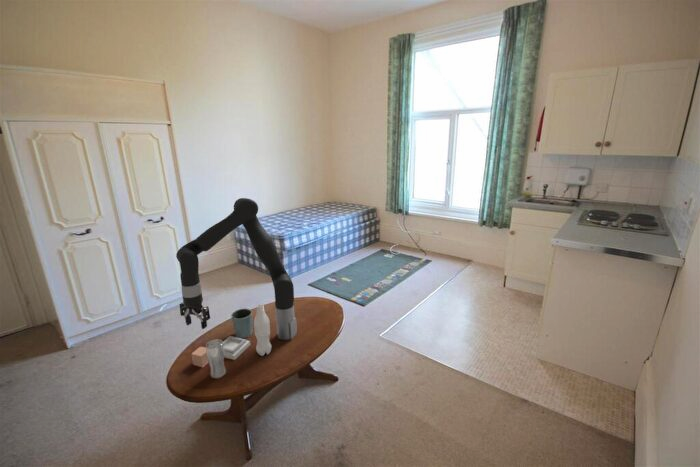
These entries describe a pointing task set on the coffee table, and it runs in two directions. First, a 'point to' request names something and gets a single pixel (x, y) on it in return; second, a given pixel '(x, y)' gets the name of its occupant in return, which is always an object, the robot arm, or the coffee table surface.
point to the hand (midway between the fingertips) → (196, 326)
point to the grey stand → (234, 347)
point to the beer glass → (216, 358)
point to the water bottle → (262, 331)
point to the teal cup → (242, 323)
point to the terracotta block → (200, 357)
